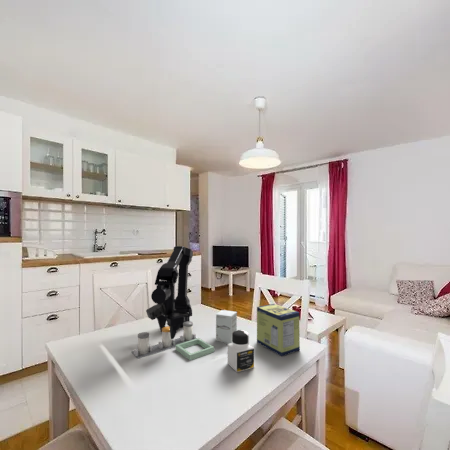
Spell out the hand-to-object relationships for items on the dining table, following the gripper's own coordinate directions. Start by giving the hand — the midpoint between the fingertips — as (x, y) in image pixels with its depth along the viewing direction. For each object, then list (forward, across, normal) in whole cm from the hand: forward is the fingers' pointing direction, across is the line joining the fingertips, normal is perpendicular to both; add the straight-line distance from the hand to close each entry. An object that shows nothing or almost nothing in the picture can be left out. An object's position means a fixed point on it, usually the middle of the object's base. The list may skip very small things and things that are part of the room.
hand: (167, 335), depth 107 cm
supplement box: (+6, +10, +23) cm, 26 cm away
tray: (+5, +11, +6) cm, 14 cm away
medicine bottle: (+6, +29, +14) cm, 33 cm away
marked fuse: (+4, 0, 0) cm, 4 cm away
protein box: (+6, +27, +37) cm, 47 cm away
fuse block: (+5, 0, 0) cm, 5 cm away
